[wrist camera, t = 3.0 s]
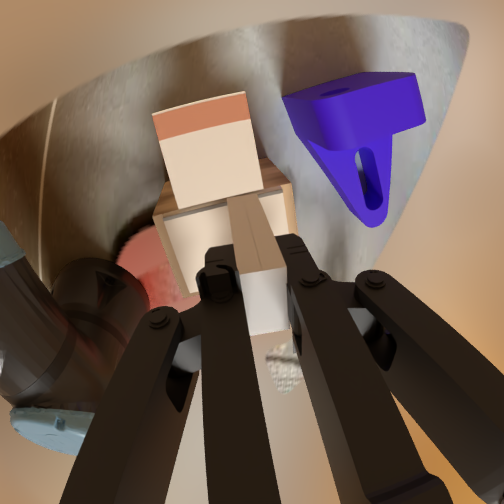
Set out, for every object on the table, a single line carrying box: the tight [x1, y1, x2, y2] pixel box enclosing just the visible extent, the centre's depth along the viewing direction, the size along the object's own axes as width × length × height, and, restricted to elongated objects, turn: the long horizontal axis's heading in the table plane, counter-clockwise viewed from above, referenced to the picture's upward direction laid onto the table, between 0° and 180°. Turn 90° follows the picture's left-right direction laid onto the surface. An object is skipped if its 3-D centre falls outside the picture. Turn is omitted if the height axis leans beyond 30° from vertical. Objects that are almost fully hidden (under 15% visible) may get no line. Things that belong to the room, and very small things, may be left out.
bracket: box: [282, 72, 426, 228], centre depth 30 cm, size 18×11×12 cm, turn 22°
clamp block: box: [153, 157, 298, 298], centre depth 31 cm, size 12×9×11 cm
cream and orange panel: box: [152, 91, 264, 209], centre depth 22 cm, size 7×8×1 cm
